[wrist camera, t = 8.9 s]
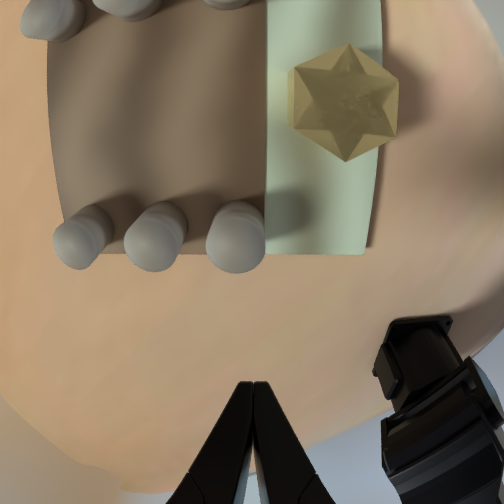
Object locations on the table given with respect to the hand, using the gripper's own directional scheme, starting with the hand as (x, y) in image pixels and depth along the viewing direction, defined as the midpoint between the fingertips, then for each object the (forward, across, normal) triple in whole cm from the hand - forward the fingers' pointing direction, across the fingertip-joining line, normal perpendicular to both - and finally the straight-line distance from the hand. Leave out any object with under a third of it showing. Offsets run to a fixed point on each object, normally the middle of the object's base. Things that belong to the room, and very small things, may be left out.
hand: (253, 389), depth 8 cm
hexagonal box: (+11, -4, -8) cm, 14 cm away
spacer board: (+12, +3, -8) cm, 14 cm away
